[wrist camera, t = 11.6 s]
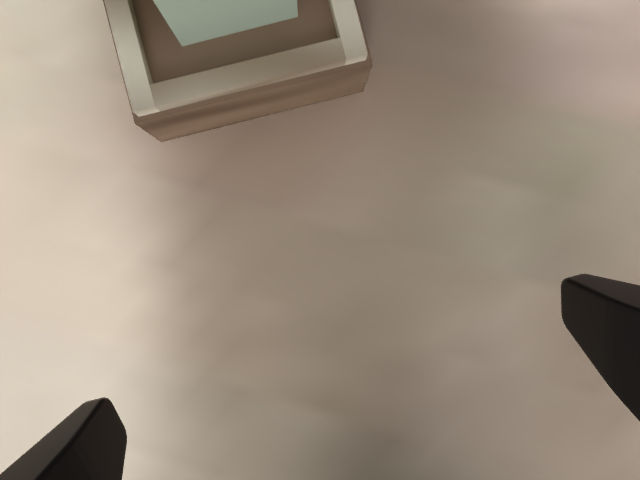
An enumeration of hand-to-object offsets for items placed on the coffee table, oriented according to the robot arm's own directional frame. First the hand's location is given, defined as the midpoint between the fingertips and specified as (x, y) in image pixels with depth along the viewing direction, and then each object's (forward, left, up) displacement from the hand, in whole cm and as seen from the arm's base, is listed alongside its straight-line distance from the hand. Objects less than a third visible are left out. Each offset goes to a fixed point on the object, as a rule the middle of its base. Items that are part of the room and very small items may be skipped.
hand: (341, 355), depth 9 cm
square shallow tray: (+6, +11, -11) cm, 17 cm away
